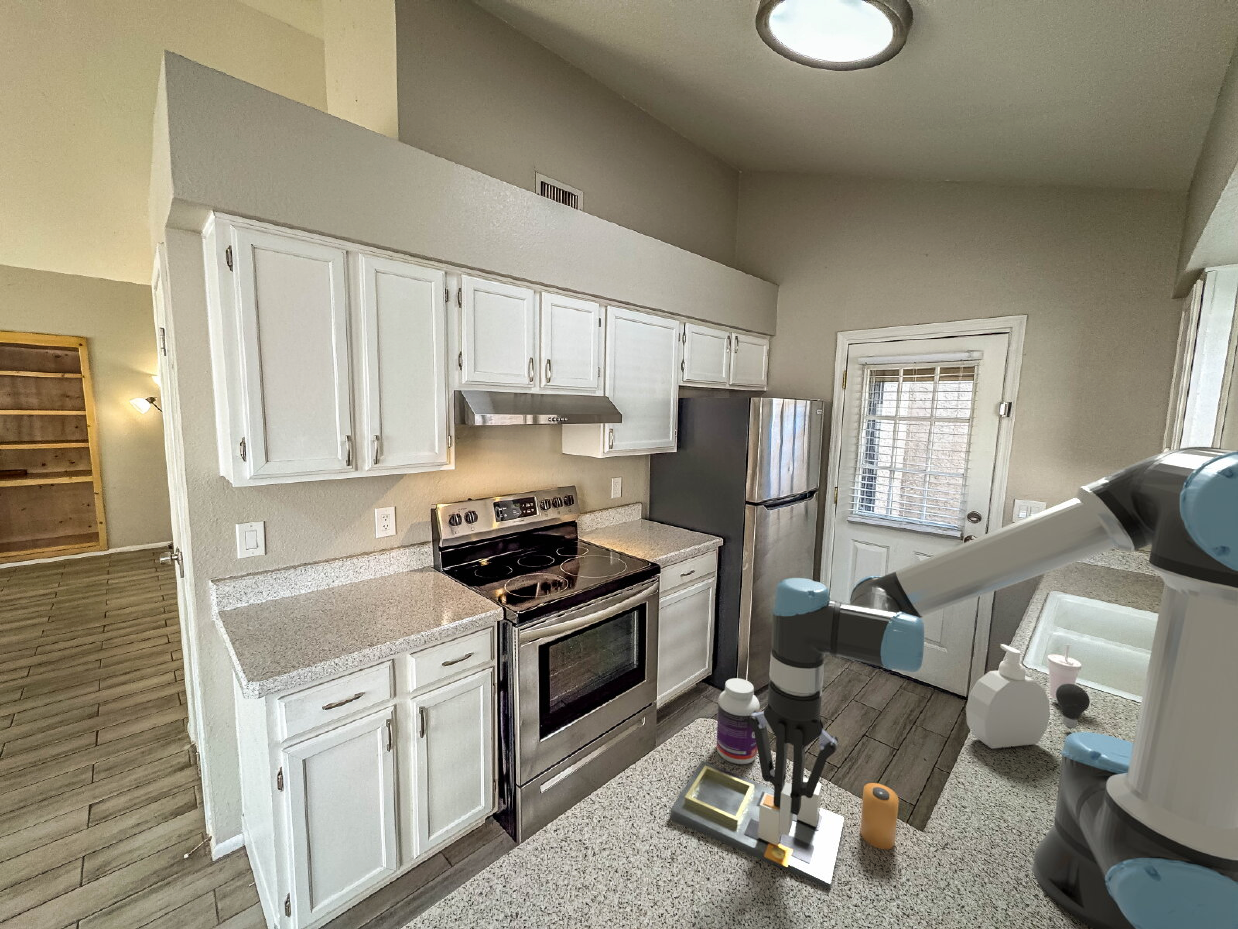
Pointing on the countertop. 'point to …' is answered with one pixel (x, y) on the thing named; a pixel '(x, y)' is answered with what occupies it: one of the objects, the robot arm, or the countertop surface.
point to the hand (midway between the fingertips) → (785, 827)
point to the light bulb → (1072, 703)
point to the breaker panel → (756, 824)
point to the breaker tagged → (769, 820)
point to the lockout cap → (879, 816)
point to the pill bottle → (736, 722)
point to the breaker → (810, 806)
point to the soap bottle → (1008, 706)
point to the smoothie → (1062, 671)
